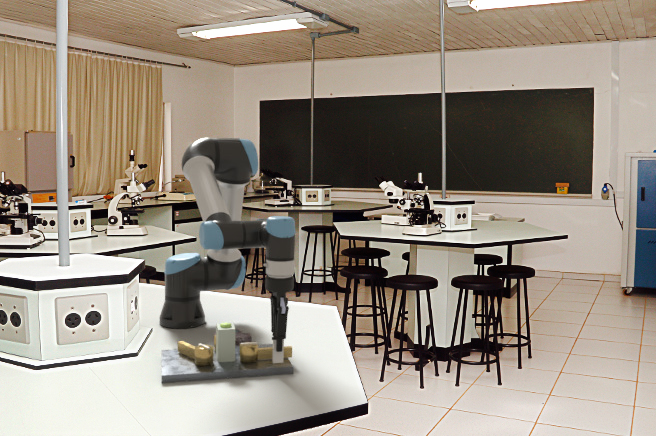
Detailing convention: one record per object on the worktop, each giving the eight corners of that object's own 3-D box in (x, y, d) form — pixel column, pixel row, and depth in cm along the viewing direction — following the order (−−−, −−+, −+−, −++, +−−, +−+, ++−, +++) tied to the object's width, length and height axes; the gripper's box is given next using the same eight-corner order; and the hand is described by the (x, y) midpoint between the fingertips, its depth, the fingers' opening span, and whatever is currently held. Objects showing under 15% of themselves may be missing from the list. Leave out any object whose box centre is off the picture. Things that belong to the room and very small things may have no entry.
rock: (250, 349, 182) (250, 334, 181) (212, 349, 181) (212, 334, 180) (252, 341, 190) (252, 326, 189) (215, 341, 189) (215, 326, 188)
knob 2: (240, 363, 163) (240, 346, 162) (238, 356, 168) (238, 340, 167) (293, 359, 167) (293, 343, 166) (289, 353, 171) (290, 337, 171)
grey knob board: (161, 356, 172) (161, 336, 172) (279, 349, 181) (279, 330, 181) (161, 383, 153) (161, 360, 153) (293, 373, 162) (293, 352, 162)
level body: (216, 355, 169) (216, 321, 168) (232, 353, 171) (232, 320, 170) (217, 362, 164) (218, 327, 163) (235, 361, 165) (235, 326, 164)
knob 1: (217, 362, 163) (217, 345, 162) (201, 366, 159) (201, 349, 159) (187, 349, 173) (187, 333, 172) (172, 352, 169) (172, 336, 169)
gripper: (261, 270, 165) (260, 354, 167) (269, 280, 152) (268, 371, 155) (288, 270, 167) (286, 353, 169) (299, 280, 154) (296, 369, 157)
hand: (277, 361), depth 162 cm, fingers closed
